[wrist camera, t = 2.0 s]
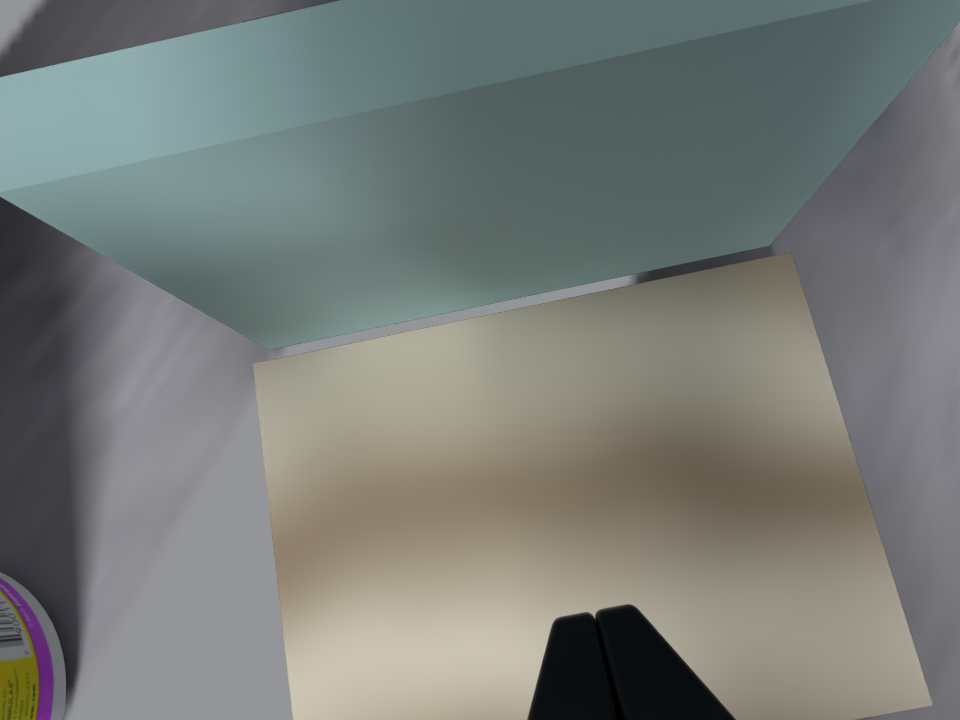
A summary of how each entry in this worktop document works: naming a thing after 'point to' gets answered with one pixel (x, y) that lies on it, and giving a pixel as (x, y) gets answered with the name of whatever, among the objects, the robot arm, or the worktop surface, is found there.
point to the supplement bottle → (28, 658)
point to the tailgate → (450, 146)
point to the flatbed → (580, 505)
